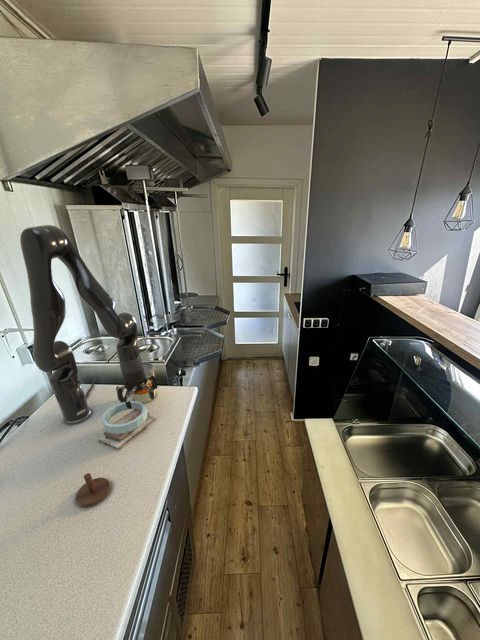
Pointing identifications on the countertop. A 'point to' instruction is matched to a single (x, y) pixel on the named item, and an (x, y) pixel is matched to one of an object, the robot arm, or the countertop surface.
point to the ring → (127, 426)
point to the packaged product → (120, 439)
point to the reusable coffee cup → (144, 394)
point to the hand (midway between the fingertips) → (141, 403)
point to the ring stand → (92, 491)
